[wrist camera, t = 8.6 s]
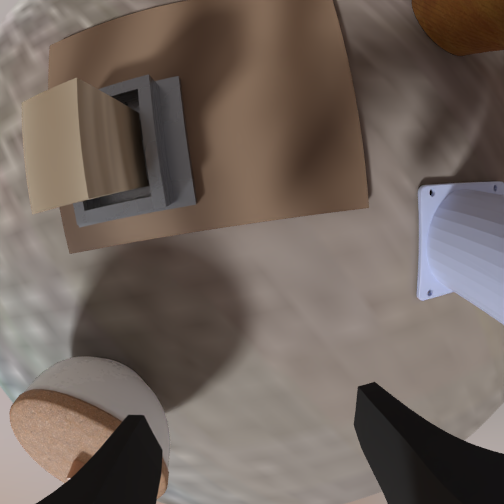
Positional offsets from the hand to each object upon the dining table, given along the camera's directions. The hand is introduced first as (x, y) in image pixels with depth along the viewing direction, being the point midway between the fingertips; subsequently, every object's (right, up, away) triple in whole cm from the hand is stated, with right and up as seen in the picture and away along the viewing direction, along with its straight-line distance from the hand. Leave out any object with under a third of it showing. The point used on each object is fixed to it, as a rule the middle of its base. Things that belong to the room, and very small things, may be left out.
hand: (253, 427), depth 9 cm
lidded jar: (-11, -5, +11) cm, 16 cm away
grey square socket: (-7, +11, +7) cm, 15 cm away
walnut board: (-3, +14, +6) cm, 16 cm away
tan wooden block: (-7, +11, +5) cm, 14 cm away
